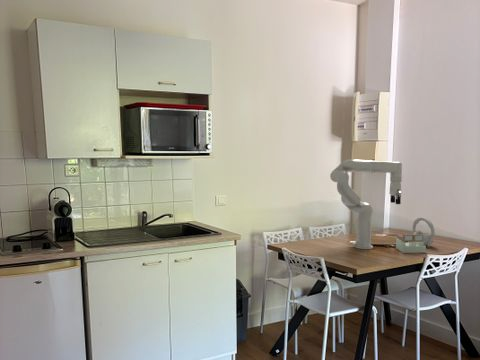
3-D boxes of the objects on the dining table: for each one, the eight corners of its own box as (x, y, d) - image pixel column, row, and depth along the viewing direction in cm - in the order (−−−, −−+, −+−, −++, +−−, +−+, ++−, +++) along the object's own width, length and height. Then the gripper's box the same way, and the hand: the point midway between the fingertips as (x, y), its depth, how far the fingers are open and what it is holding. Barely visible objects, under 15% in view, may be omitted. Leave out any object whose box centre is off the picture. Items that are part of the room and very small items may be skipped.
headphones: (437, 247, 268) (438, 219, 266) (428, 248, 265) (428, 220, 264) (417, 242, 286) (418, 215, 285) (408, 242, 283) (409, 216, 282)
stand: (395, 248, 267) (396, 238, 267) (417, 248, 267) (417, 238, 266) (402, 252, 255) (403, 242, 255) (425, 252, 255) (425, 242, 254)
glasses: (396, 237, 269) (396, 231, 269) (415, 237, 269) (415, 231, 268) (403, 241, 256) (403, 234, 256) (423, 241, 256) (423, 234, 256)
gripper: (386, 178, 282) (385, 202, 283) (395, 180, 265) (394, 204, 266) (396, 178, 282) (396, 201, 283) (406, 180, 265) (405, 204, 266)
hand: (395, 203), depth 274 cm, fingers open, 9 cm apart
